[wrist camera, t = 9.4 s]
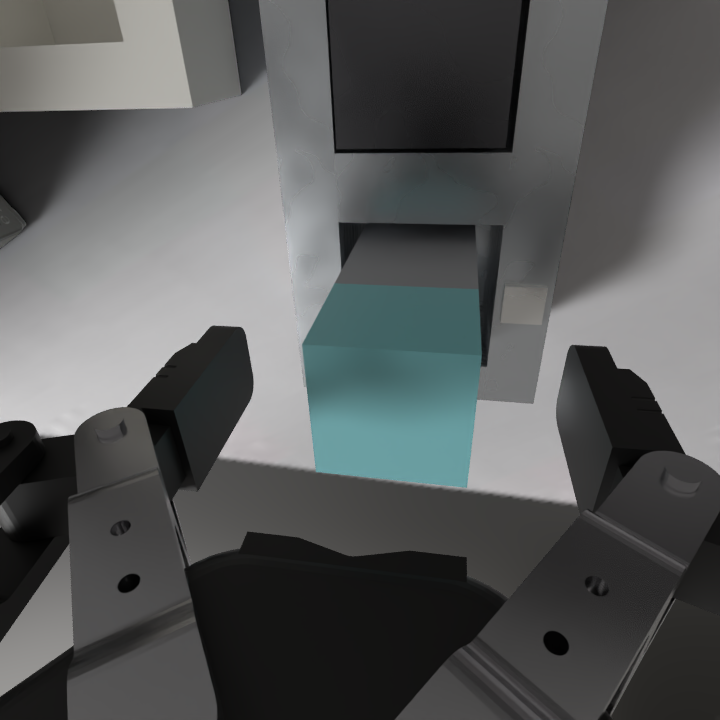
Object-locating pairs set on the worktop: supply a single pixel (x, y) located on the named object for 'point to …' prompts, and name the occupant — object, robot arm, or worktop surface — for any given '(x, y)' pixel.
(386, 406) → the plug
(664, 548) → the robot arm
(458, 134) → the metal switch box
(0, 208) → the skincare box
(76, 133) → the worktop surface
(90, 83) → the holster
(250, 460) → the worktop surface
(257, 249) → the worktop surface
